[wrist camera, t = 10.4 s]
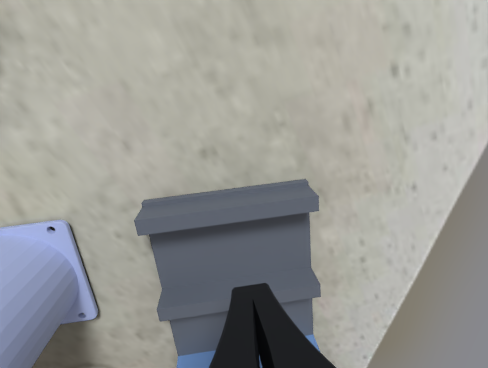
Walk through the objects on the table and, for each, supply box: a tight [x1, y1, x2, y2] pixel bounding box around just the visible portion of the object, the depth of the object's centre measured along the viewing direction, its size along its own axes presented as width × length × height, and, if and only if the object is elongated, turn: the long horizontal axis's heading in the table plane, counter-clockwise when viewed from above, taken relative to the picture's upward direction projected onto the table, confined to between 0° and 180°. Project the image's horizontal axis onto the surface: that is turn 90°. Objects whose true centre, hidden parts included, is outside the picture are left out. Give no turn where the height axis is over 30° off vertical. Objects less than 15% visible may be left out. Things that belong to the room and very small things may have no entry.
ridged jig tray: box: [134, 179, 321, 368], centre depth 22 cm, size 11×21×3 cm, turn 6°
